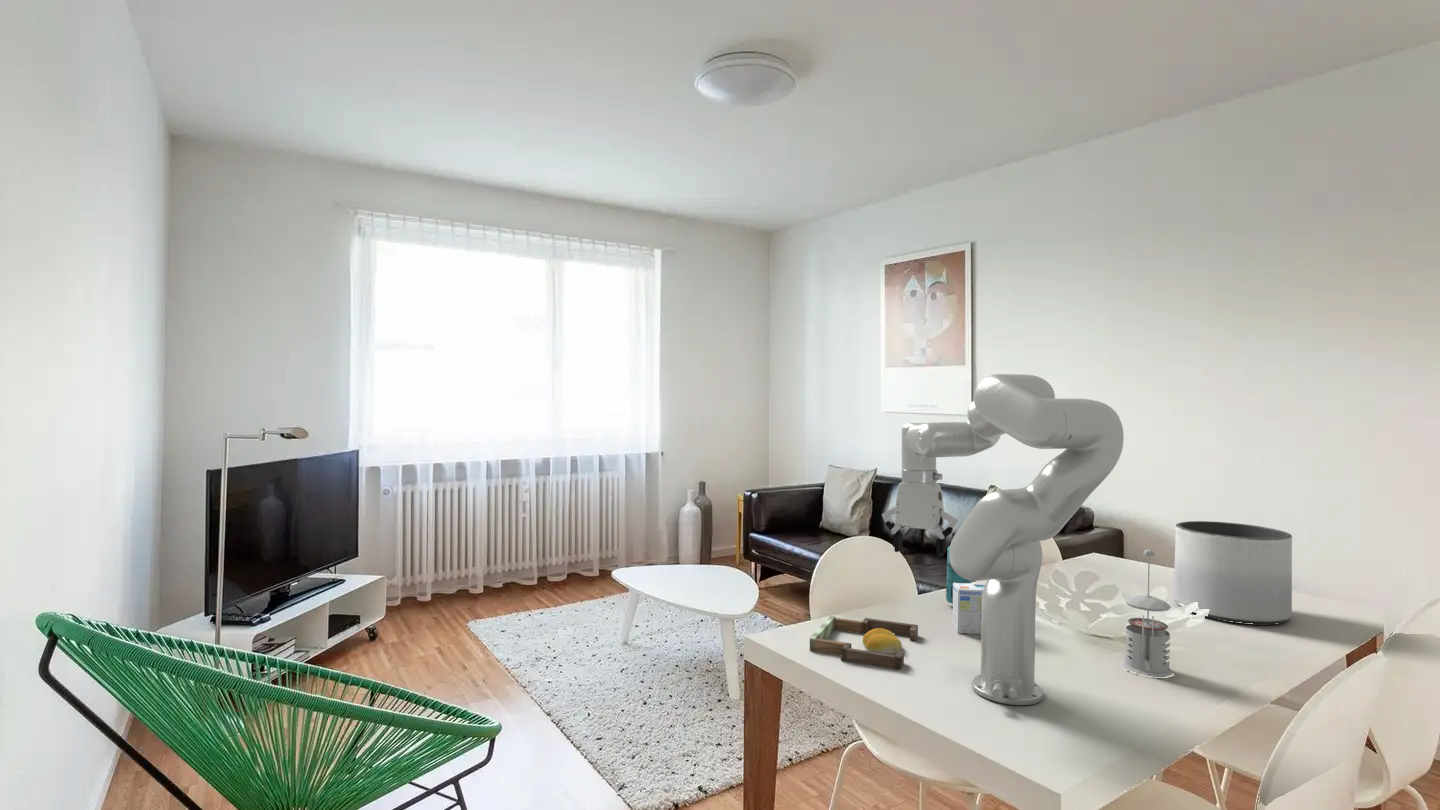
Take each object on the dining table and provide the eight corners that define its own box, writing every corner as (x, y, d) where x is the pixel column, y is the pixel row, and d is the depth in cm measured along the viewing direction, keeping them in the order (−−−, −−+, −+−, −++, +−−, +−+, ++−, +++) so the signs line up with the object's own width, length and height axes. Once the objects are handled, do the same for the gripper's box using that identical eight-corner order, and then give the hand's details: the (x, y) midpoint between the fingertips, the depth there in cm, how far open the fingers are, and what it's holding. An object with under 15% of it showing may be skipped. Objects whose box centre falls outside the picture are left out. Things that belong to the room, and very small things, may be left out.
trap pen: (900, 670, 146) (900, 656, 146) (805, 654, 154) (805, 641, 154) (917, 635, 168) (917, 623, 168) (833, 623, 176) (833, 612, 176)
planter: (1280, 635, 171) (1282, 543, 170) (1160, 610, 189) (1162, 527, 189) (1300, 613, 188) (1301, 530, 188) (1188, 593, 207) (1189, 517, 206)
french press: (1174, 666, 150) (1176, 548, 149) (1176, 685, 140) (1178, 558, 139) (1120, 657, 155) (1122, 542, 154) (1118, 675, 145) (1121, 552, 144)
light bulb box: (995, 626, 175) (996, 583, 175) (1004, 636, 168) (1004, 590, 168) (951, 625, 176) (951, 581, 176) (957, 634, 169) (958, 588, 169)
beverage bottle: (954, 602, 195) (955, 529, 195) (976, 607, 190) (977, 533, 190) (940, 606, 191) (941, 532, 191) (962, 612, 186) (963, 536, 186)
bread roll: (869, 656, 155) (869, 638, 155) (859, 642, 164) (859, 624, 163) (906, 656, 155) (907, 637, 155) (895, 641, 164) (895, 624, 164)
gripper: (962, 478, 159) (962, 555, 159) (889, 474, 169) (889, 546, 169) (951, 481, 153) (952, 561, 152) (876, 476, 163) (876, 551, 163)
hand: (919, 553), depth 161 cm, fingers open, 9 cm apart
